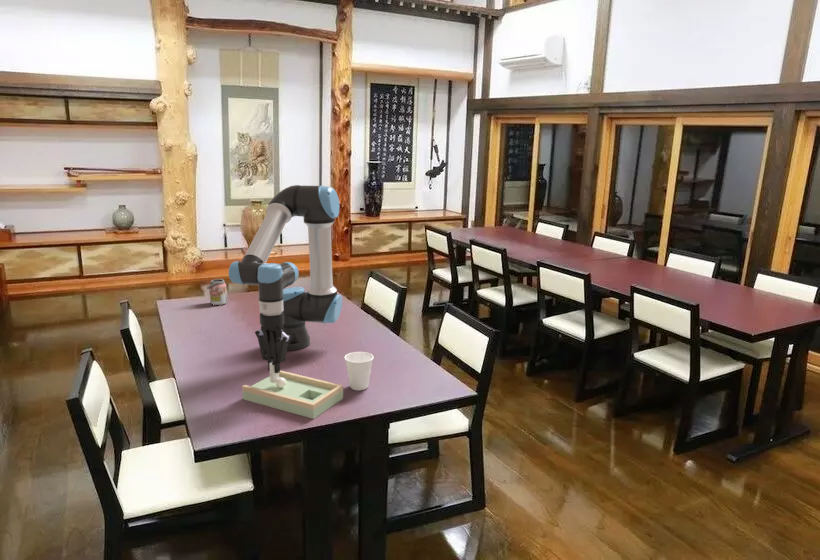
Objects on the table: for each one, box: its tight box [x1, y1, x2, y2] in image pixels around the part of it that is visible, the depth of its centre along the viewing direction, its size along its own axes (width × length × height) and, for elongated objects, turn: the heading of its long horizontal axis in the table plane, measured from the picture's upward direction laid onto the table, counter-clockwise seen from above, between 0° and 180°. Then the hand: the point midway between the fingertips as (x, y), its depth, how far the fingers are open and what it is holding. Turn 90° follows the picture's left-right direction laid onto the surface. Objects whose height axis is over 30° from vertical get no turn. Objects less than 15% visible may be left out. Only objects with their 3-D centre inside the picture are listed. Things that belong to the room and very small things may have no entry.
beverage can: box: [206, 278, 228, 306], centre depth 289 cm, size 9×8×12 cm
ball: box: [275, 377, 286, 388], centre depth 189 cm, size 4×4×4 cm
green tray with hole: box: [242, 369, 344, 419], centre depth 188 cm, size 28×16×5 cm, turn 63°
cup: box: [343, 351, 375, 391], centre depth 196 cm, size 10×10×11 cm
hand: (274, 381), depth 190 cm, fingers closed
